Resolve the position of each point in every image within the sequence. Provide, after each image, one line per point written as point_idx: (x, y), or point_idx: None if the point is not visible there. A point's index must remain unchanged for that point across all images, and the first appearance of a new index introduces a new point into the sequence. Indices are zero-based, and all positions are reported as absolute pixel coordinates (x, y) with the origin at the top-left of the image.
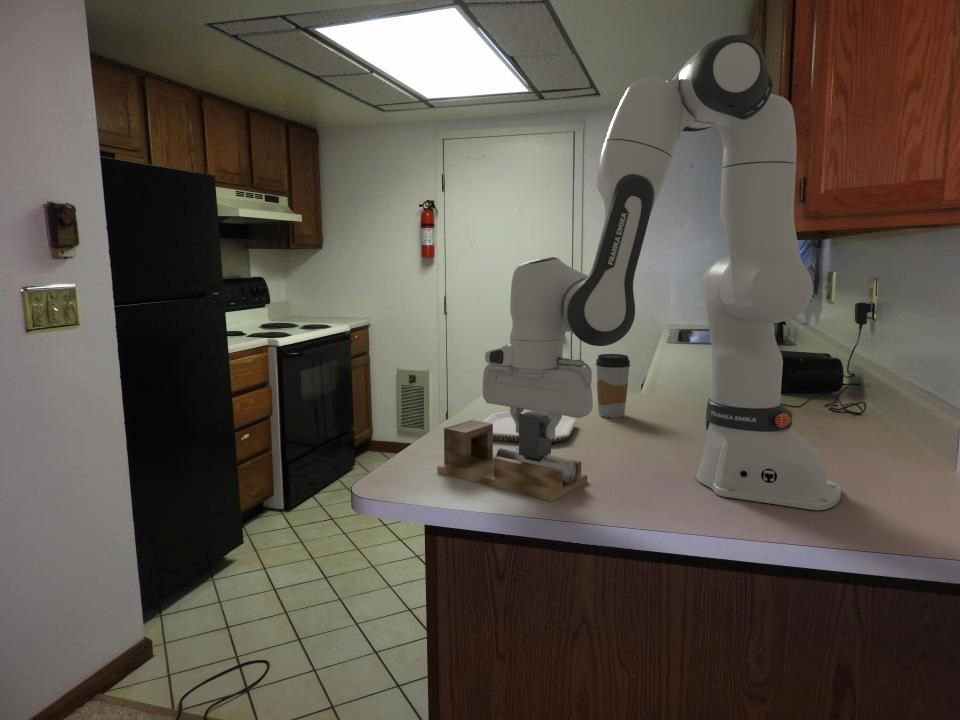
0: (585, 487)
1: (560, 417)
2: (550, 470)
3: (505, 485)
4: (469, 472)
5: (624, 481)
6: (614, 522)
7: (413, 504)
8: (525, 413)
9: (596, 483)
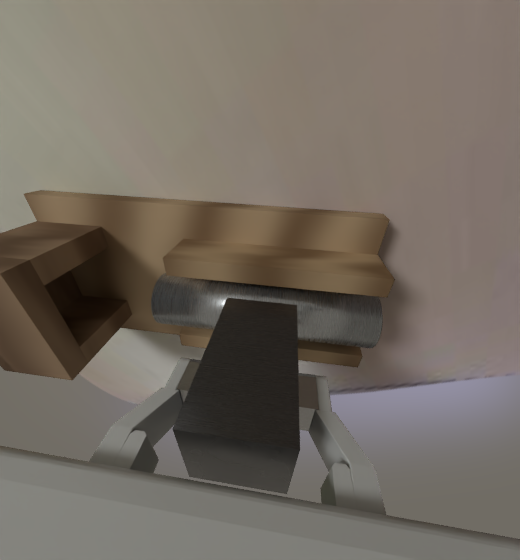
0: (386, 253)
1: (372, 479)
2: (334, 363)
3: None
4: (155, 327)
5: (509, 139)
6: (467, 370)
7: None
8: (191, 462)
9: (411, 210)
